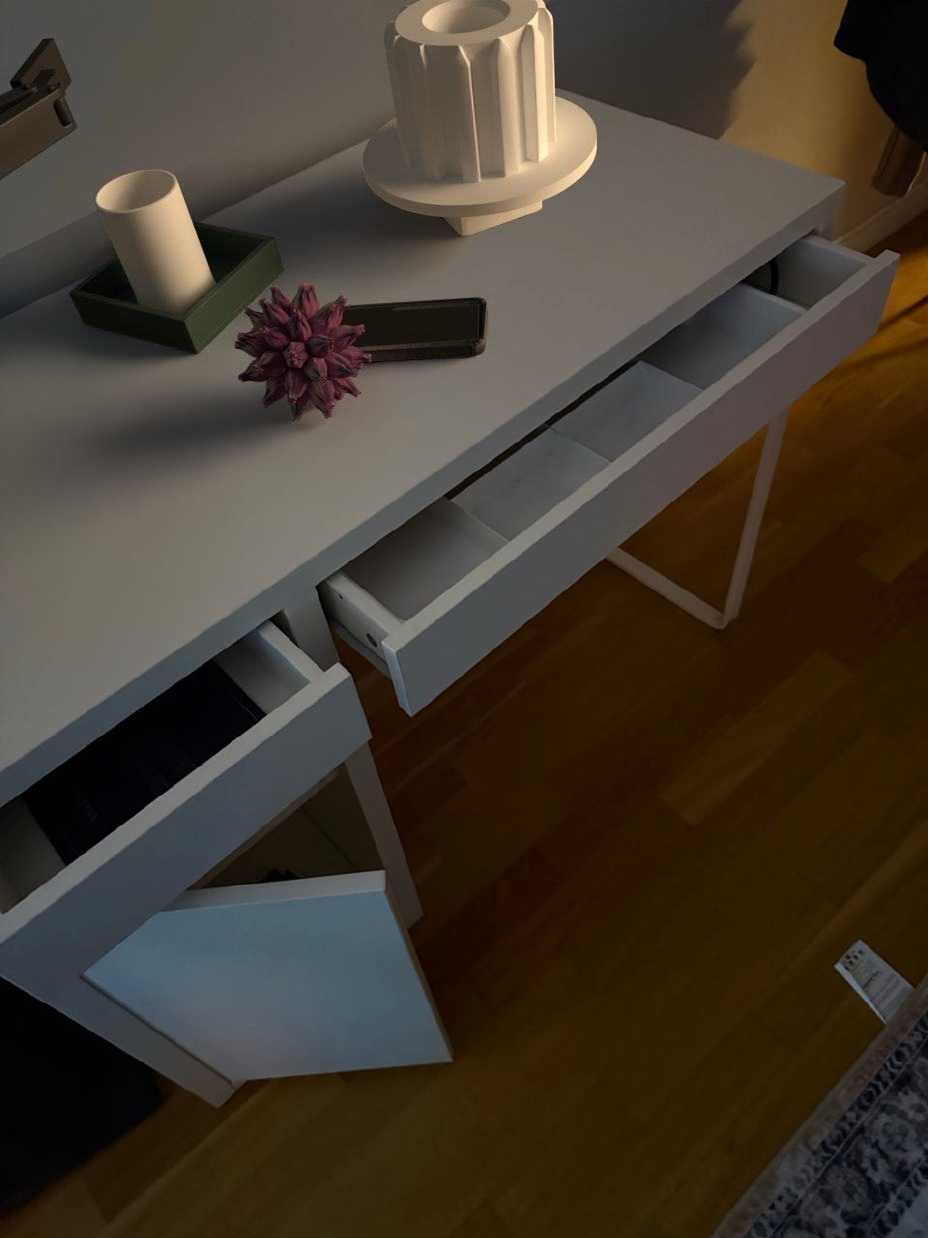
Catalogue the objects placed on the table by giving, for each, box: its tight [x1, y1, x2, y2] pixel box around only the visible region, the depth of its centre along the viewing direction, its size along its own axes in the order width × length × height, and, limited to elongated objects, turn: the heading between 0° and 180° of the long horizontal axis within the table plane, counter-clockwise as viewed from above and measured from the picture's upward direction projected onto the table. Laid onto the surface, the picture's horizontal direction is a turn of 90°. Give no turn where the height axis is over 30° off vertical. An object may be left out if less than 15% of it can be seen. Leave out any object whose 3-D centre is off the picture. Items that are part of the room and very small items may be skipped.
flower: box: [233, 282, 372, 422], centre depth 79 cm, size 12×12×12 cm
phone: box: [339, 296, 489, 362], centre depth 88 cm, size 8×1×15 cm
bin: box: [67, 220, 285, 355], centre depth 96 cm, size 16×16×4 cm
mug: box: [93, 168, 217, 316], centre depth 92 cm, size 12×8×12 cm
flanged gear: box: [362, 0, 598, 237], centre depth 94 cm, size 25×25×19 cm
